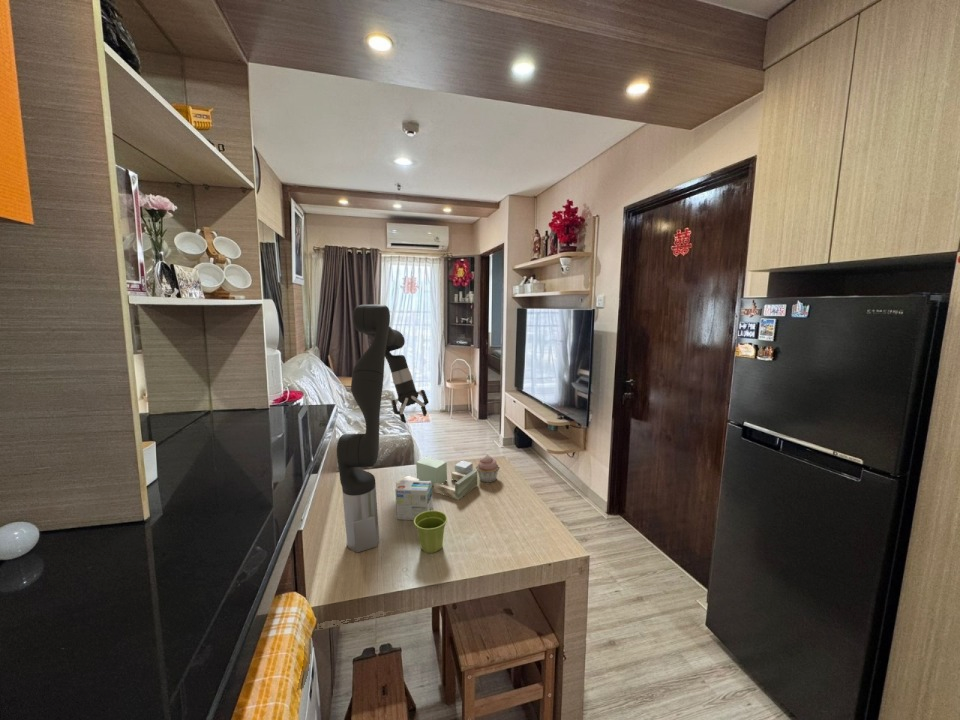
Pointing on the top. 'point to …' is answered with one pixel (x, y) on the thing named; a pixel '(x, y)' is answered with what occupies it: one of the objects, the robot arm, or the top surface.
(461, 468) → the grey-blue block
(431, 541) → the plant pot
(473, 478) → the birch bay
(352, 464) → the robot arm
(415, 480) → the cream block
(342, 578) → the top surface
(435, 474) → the sage block
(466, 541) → the top surface
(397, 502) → the light bulb box
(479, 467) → the cupcake
